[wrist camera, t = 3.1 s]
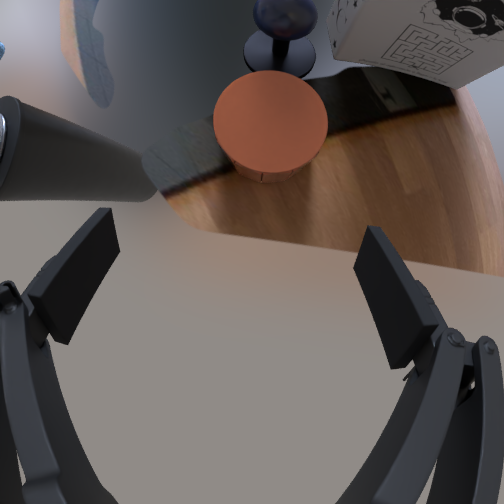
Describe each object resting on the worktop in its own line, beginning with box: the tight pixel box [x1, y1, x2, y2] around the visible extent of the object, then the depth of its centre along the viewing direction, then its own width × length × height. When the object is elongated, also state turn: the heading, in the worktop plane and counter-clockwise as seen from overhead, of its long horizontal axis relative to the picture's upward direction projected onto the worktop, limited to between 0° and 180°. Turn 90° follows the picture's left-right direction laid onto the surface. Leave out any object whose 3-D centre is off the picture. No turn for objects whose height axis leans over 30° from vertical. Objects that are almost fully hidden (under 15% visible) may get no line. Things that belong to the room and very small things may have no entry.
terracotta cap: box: [213, 70, 328, 183], centre depth 25 cm, size 10×10×8 cm
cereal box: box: [326, 0, 504, 89], centre depth 14 cm, size 22×8×25 cm, turn 92°
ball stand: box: [243, 30, 316, 79], centre depth 24 cm, size 9×9×6 cm
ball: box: [253, 0, 318, 41], centre depth 19 cm, size 6×6×6 cm
